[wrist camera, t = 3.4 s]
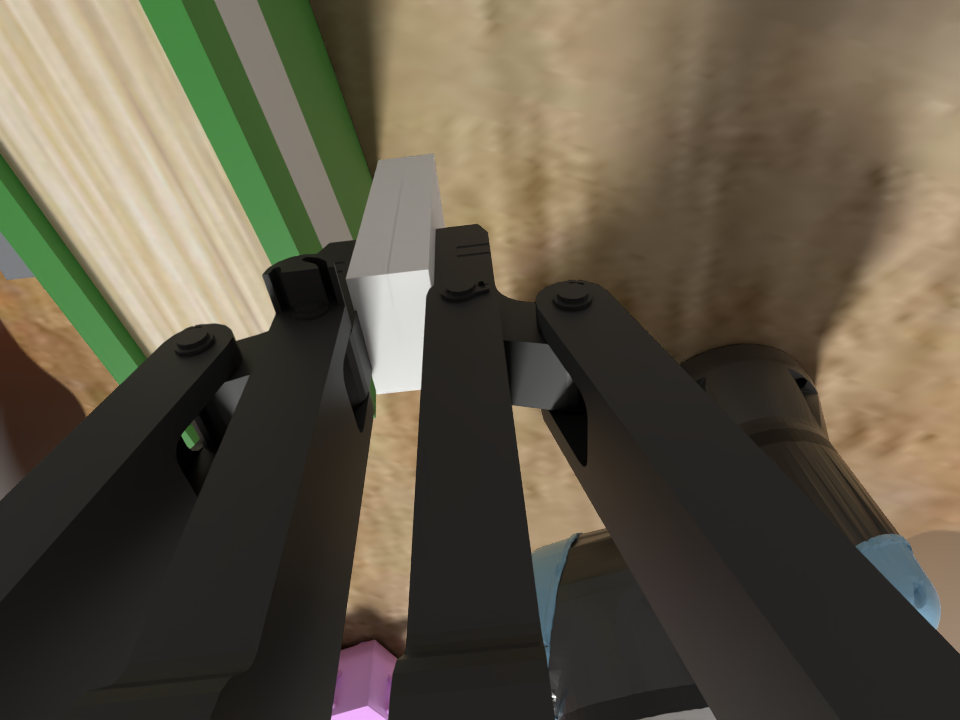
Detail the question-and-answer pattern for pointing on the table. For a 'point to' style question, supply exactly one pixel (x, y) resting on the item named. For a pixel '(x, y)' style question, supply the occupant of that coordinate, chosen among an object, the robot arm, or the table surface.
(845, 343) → the table surface
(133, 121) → the hardback book
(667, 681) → the robot arm
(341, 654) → the teapot
